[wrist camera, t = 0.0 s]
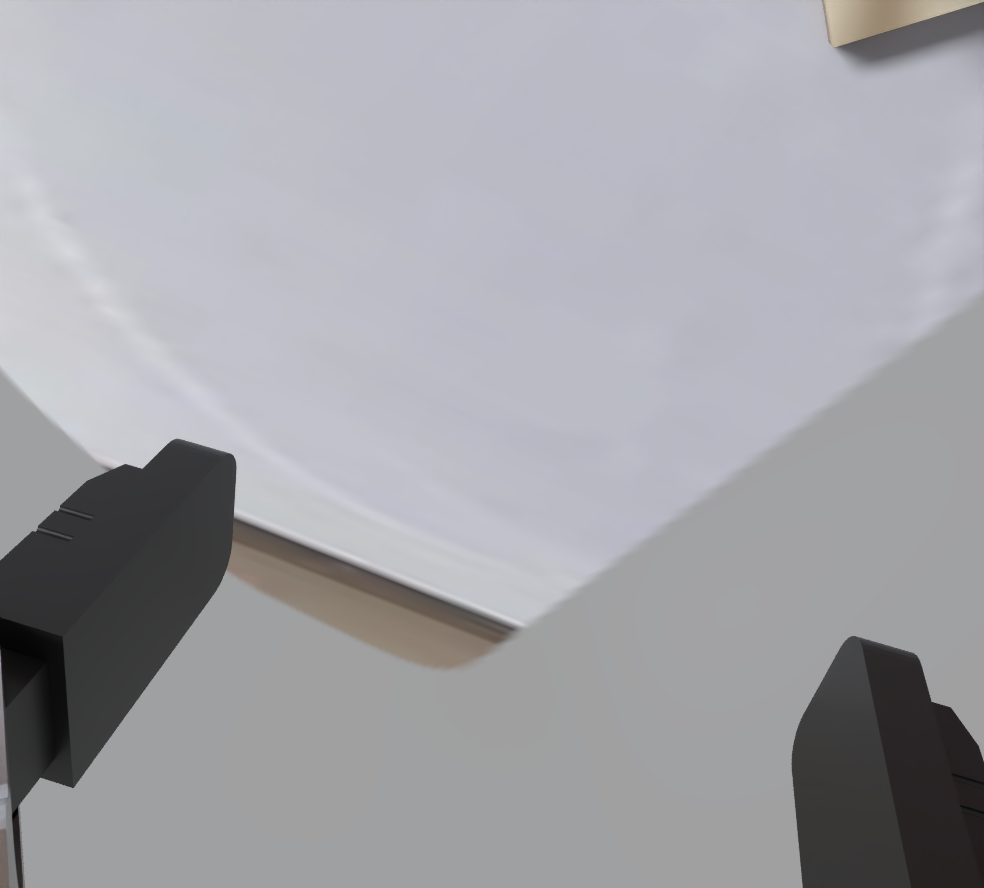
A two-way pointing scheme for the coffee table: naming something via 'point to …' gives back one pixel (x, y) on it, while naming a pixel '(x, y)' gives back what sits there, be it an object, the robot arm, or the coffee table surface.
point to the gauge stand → (880, 16)
